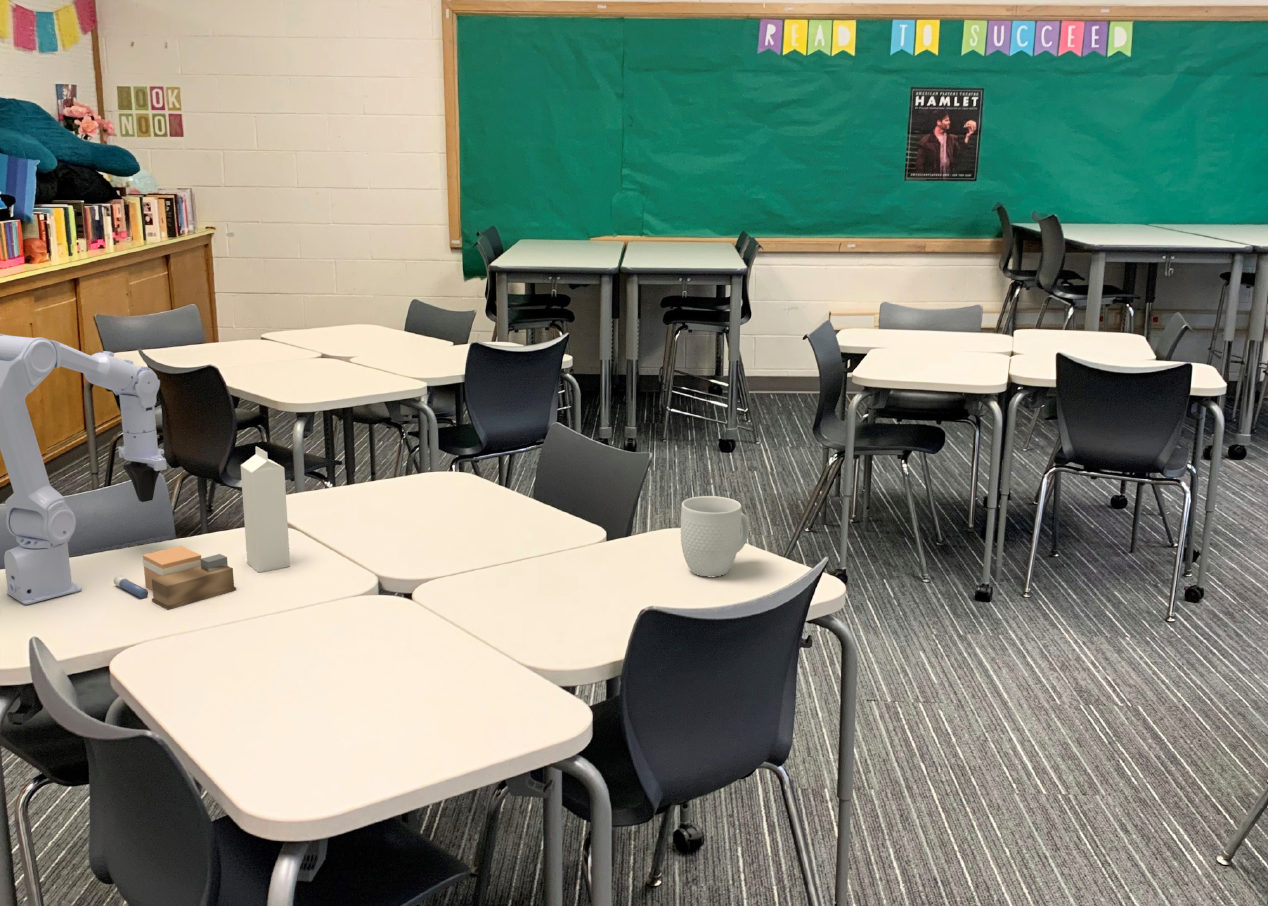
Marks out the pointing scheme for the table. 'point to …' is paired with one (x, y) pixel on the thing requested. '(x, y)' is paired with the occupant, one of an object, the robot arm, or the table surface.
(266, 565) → the milk
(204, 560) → the eraser
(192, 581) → the podium
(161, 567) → the carton
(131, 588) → the marker
